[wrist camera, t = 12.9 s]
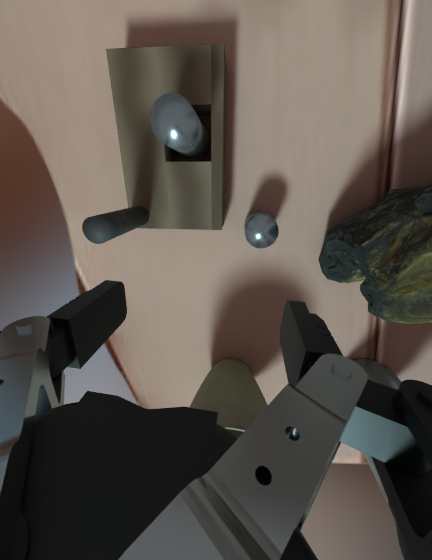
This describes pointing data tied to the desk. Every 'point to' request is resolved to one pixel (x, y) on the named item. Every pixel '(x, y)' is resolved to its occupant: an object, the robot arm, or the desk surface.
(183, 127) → the tall pin
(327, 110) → the desk surface
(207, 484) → the robot arm
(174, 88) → the hole board
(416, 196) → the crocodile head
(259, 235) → the short pin
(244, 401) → the plant pot
